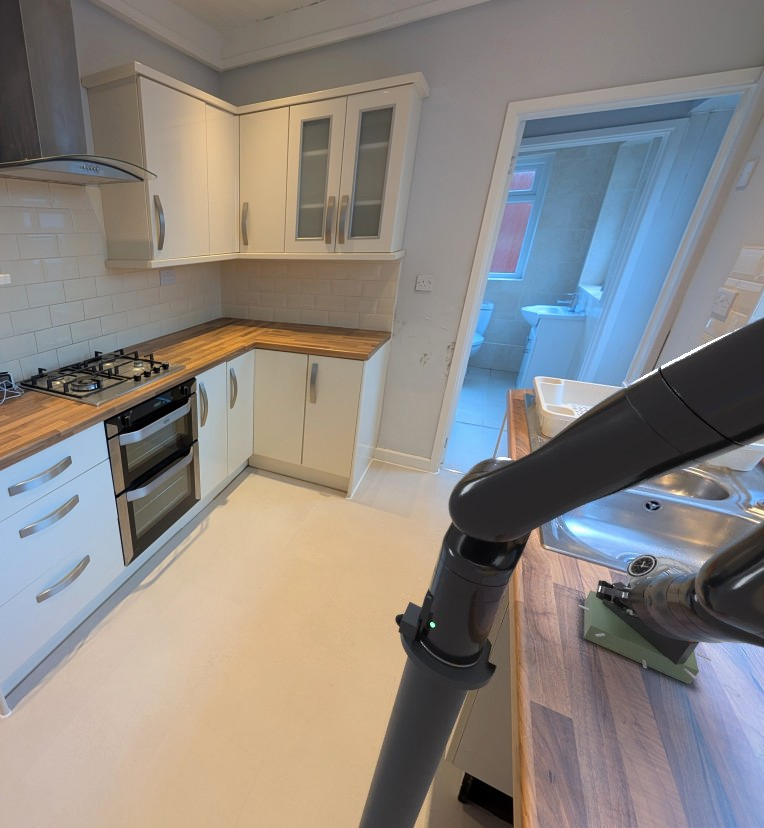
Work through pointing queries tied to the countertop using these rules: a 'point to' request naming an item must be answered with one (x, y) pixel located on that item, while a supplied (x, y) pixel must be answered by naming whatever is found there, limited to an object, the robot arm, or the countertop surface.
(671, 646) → the pointer
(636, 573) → the watch
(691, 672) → the dial panel
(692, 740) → the countertop surface
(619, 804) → the countertop surface
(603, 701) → the countertop surface
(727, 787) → the countertop surface
